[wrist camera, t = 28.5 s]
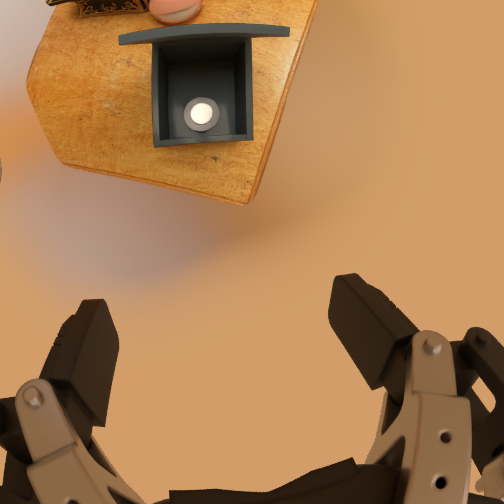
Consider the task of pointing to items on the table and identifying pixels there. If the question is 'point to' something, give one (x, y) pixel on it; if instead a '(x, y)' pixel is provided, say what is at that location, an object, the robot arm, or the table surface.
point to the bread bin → (202, 88)
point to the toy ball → (174, 10)
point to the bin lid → (203, 32)
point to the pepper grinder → (201, 114)
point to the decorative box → (105, 6)
